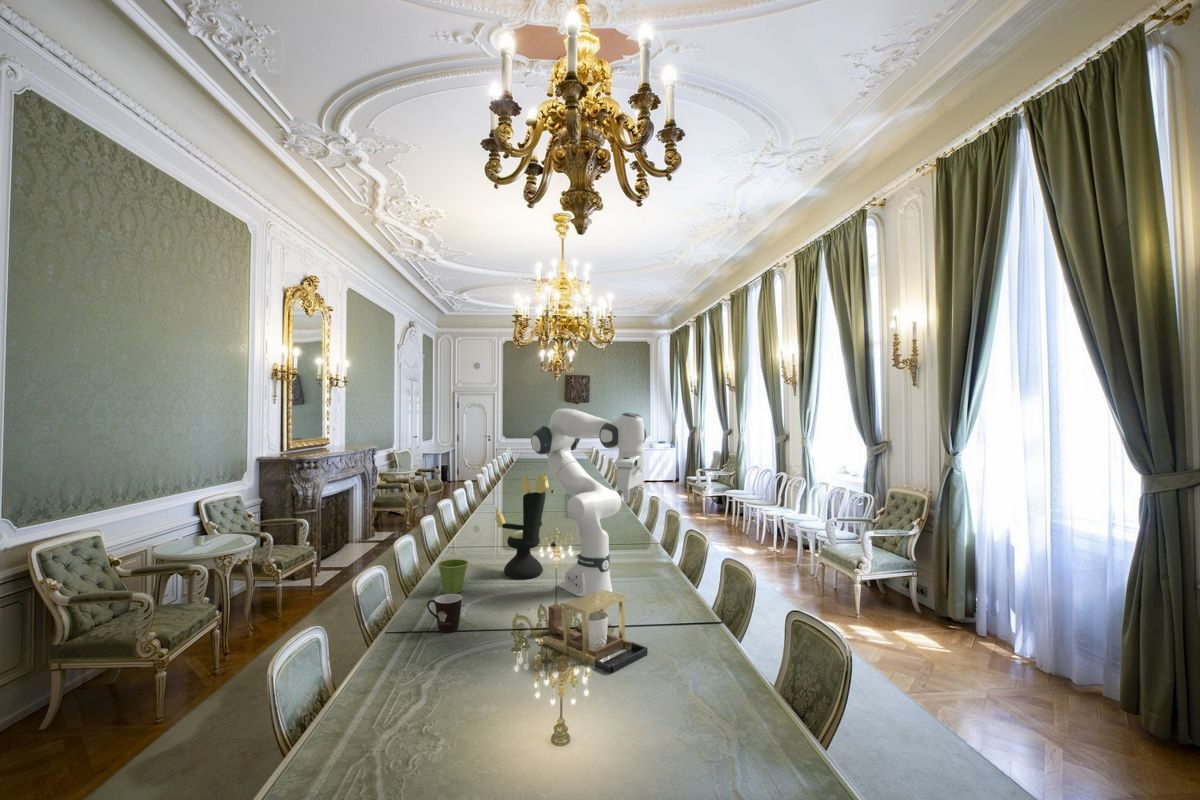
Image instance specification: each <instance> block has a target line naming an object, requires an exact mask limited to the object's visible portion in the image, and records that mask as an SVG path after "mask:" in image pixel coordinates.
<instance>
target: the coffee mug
mask: <svg viewBox="0 0 1200 800" xmlns="http://www.w3.org/2000/svg"><path fill="white" fill-rule="evenodd" d="M462 602H463V596H462V595H460V594H459V593H457V594H446V593H444V594H442V595H438V596H437V597H435V598H434V599H431V600H428V601H427V603H426V608H427V610H428V612H429V613H430V614H431V615H432V616H433V617H434V618H436V622H437V630H438V632H439V633H441V634H452V633H456V632H457V631H458V630H459V628H460V627H459V626H460V618H461V611H462V604H463V603H462ZM430 603H434V605H435V613H434V612H433V611H432V610H431V609H430Z"/></svg>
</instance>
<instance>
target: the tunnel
mask: <svg viewBox="0 0 1200 800" xmlns="http://www.w3.org/2000/svg"><path fill="white" fill-rule="evenodd" d="M625 601H626V597H625V595H623V594H618V593H617V592H614V591H612V592H610V591H606V590H600V591H597V592H594V593H592V594H589V595H586V596H579V597H578V598H576V599H572V600H570V601H567V602H565V603H563V627H564V635H563V642H561V641H558V640H556V639H553V638H552V637H549V636H547V635H545V636H543V644H544V645H546V646H548V647H550V648H551V649H552V648H553V649H555V650H557V651H559V652H561V653H563V655H567V656H570V657H572V658H575V659H578V660H579V661H581V662H582V663H583V664H588V665H591V666H593V667H595V668H596V669H599V670H601V671H603V672H604V673H608V674H614V673H616V672H617V671H620V670H621V669H624V668H626V667H628V666H629V665H631V664H633V663H635V662H637V661H639V660H641V659H642V658H645V657H646V656H647V655H648V647H646V646H645V645H643V644H639V643H636V642H633V641H631V640H629V639H626V638H625V637H626V636H625V632H626V631H625V629H626V627H625V625H626V622H625V621H626V619H625V618H626V617H625V616H626V615H625V614H626V613H625V610H626V609H625V608H626V607H625V605H626V603H625ZM616 604H618V635H616V634H613V633H610V632H608V631H607V633H608V634H610V635H613V636H616V637H618V638H621V639H623V648H625V649H627V650H625V651H623V652H621V653H619V654H616V655H615V656H612V657H610V658H609V659H607V660H604V661H601V660H600V659H599V660H597V658H596V657H594V656H591V655H589V614H591V613H593V612H596V611H601V612H604V613H606V614H607V610H606V608H608V607H611V606H614V605H616ZM570 611H572V612H575V613H577V614H581V615H582V614H583V643H582V645H583V652H582V651H580V650H577V649H575V648H573V647H570V646H569V639H570V638H569V636H570V630H571V629H570V625H571V623H570V620H571V619H570V618H571V617H570V613H571V612H570ZM577 624H578V626H577V628H578V629H577V630H579V631H581V632H582V621H581V622H580V621H579V622H578V623H577Z"/></svg>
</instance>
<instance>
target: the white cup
mask: <svg viewBox="0 0 1200 800" xmlns="http://www.w3.org/2000/svg"><path fill="white" fill-rule="evenodd" d="M608 620H609V615H608V614H607V612H606V613H604V612H601V611H600V610H598V611H596V612H593V613H591V614H589V648H592V649H594V650H597V649H599V648H601V647H603V646H605V645H607V643H606V641H607V632H608V625H609V624H608V622H609V621H608ZM581 623H582V631H581V634H583V614H581Z"/></svg>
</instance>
